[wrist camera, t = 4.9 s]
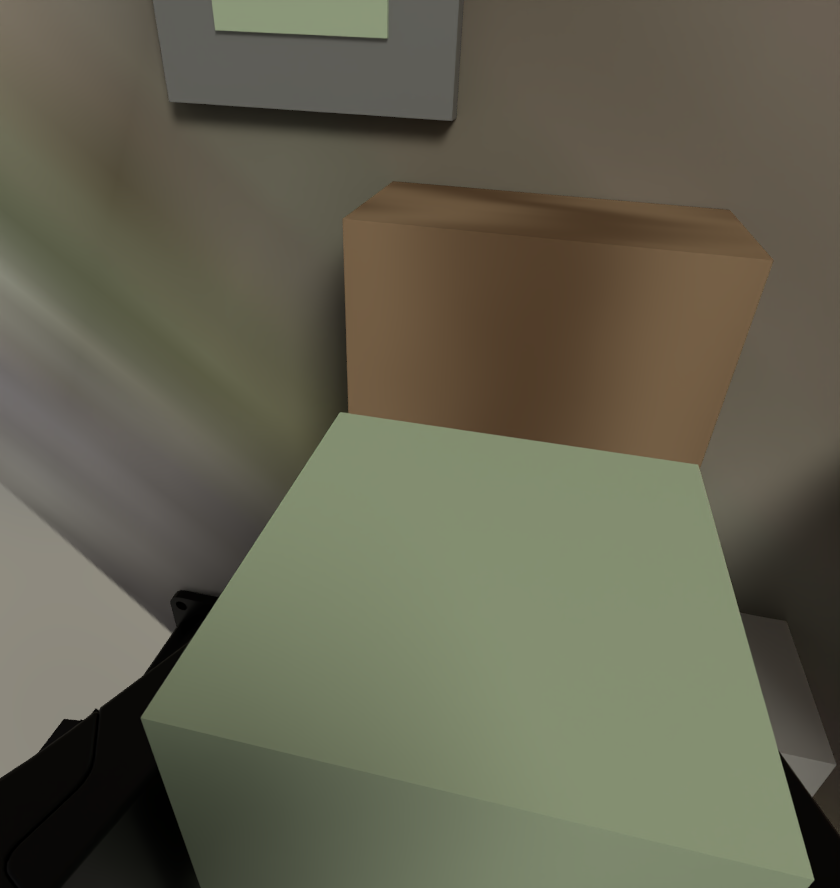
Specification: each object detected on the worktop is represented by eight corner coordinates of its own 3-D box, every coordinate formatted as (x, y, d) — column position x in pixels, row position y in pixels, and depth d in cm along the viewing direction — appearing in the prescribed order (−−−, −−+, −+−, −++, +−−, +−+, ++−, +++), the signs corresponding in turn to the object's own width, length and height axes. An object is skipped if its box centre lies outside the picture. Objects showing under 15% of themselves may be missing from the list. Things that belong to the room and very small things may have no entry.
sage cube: (348, 638, 12) (225, 955, 8) (339, 411, 9) (140, 717, 5) (617, 694, 11) (640, 1080, 7) (698, 464, 8) (814, 880, 4)
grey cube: (600, 681, 24) (603, 813, 20) (630, 590, 21) (640, 722, 17) (737, 709, 23) (769, 853, 19) (785, 619, 20) (836, 765, 16)
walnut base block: (389, 446, 20) (352, 526, 17) (393, 181, 16) (342, 218, 12) (646, 486, 19) (659, 580, 15) (729, 210, 14) (773, 260, 11)
